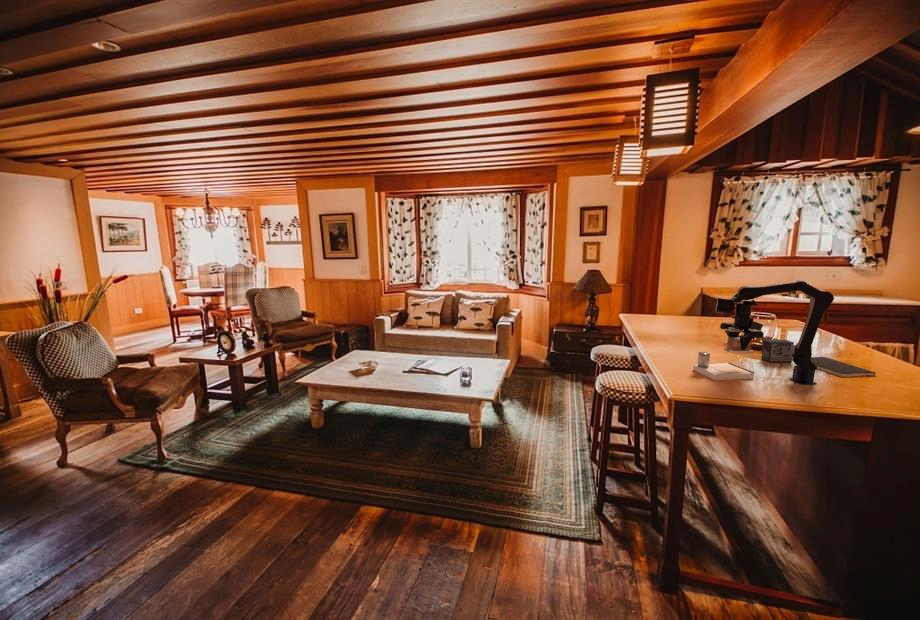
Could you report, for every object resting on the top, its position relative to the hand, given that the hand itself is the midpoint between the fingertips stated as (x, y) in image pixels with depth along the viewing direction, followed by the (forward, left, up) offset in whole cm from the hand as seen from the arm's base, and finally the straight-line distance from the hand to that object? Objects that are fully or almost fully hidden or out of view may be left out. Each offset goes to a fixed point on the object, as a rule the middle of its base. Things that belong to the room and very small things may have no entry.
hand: (738, 348), depth 173 cm
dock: (0, +6, -12) cm, 14 cm away
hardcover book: (+2, -49, -13) cm, 51 cm away
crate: (0, 0, -2) cm, 2 cm away
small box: (+15, -34, -12) cm, 39 cm away
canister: (+4, +13, -9) cm, 16 cm away
